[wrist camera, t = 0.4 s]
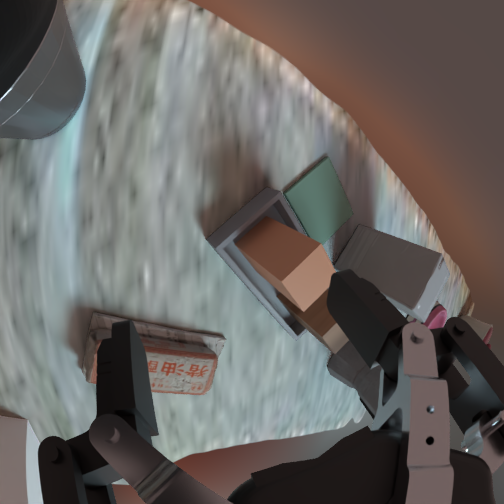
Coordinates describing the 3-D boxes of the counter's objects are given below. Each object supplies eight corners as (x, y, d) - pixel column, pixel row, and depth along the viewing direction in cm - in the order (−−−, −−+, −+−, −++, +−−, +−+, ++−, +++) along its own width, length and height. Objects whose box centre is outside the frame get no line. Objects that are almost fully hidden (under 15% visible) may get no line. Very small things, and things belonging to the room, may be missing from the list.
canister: (460, 306, 90) (499, 329, 73) (467, 310, 100) (501, 330, 83) (439, 345, 93) (476, 370, 76) (449, 344, 103) (481, 366, 86)
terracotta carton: (234, 244, 33) (281, 281, 25) (266, 215, 34) (321, 243, 25) (256, 271, 36) (303, 312, 27) (285, 244, 36) (338, 277, 28)
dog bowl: (395, 322, 62) (416, 335, 56) (435, 281, 66) (454, 291, 61) (392, 362, 71) (408, 374, 65) (428, 324, 76) (444, 334, 70)
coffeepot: (330, 342, 50) (399, 400, 35) (365, 324, 54) (431, 372, 39) (320, 392, 56) (373, 445, 41) (352, 374, 60) (404, 420, 45)
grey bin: (205, 239, 32) (215, 248, 29) (266, 187, 33) (280, 191, 30) (285, 330, 43) (296, 341, 40) (327, 289, 44) (340, 297, 42)
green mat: (283, 193, 34) (285, 194, 34) (326, 156, 35) (328, 157, 35) (315, 248, 40) (317, 250, 39) (351, 212, 41) (353, 213, 40)
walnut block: (276, 296, 39) (322, 337, 31) (302, 271, 39) (352, 305, 31) (291, 315, 42) (334, 354, 33) (315, 292, 42) (361, 326, 34)
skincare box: (349, 281, 46) (423, 328, 33) (328, 263, 42) (412, 314, 29) (376, 240, 46) (453, 276, 33) (358, 218, 42) (445, 254, 29)
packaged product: (82, 396, 26) (92, 332, 24) (81, 369, 30) (92, 307, 28) (211, 407, 36) (239, 355, 34) (199, 385, 40) (224, 334, 38)
